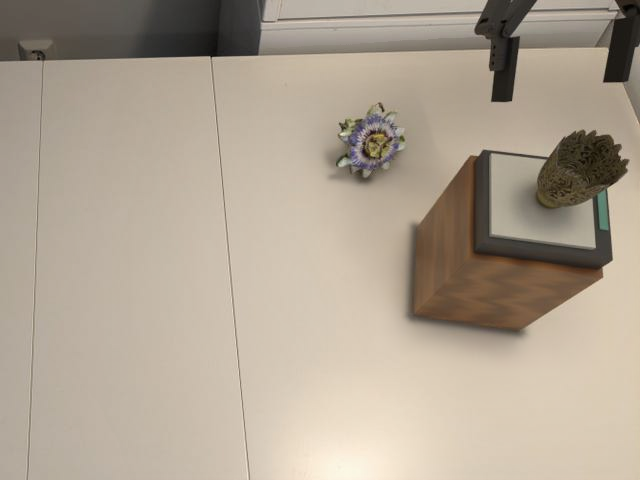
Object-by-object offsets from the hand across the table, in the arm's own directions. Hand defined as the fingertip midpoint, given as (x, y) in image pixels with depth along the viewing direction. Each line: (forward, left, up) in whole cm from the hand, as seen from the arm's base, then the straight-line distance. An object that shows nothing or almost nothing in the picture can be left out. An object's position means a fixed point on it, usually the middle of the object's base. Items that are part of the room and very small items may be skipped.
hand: (558, 92), depth 64 cm
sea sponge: (-3, +9, -8) cm, 12 cm away
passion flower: (+15, -12, -29) cm, 35 cm away
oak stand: (-3, +9, -28) cm, 30 cm away
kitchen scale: (-3, +9, -10) cm, 14 cm away
